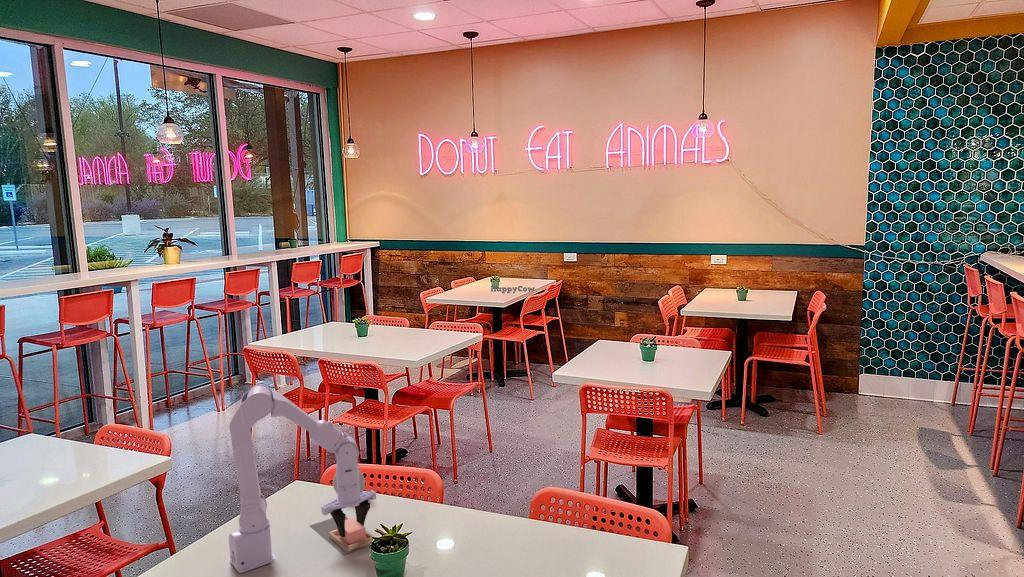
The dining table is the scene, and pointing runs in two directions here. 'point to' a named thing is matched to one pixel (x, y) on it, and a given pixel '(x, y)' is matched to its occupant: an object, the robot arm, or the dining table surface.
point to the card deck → (353, 531)
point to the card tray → (347, 546)
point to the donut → (361, 482)
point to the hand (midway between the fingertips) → (351, 532)
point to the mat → (324, 529)
